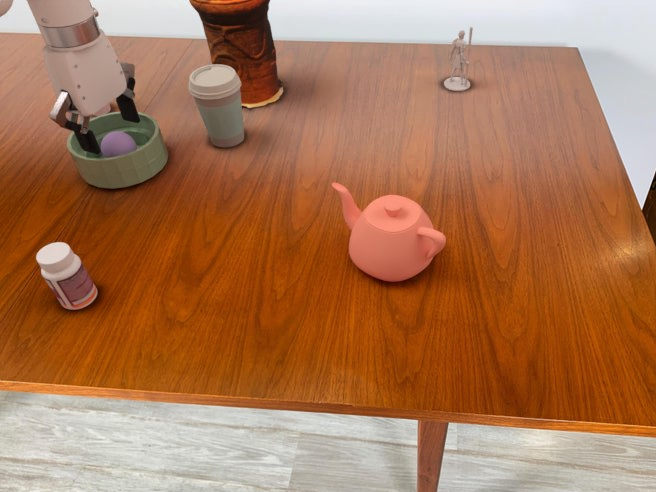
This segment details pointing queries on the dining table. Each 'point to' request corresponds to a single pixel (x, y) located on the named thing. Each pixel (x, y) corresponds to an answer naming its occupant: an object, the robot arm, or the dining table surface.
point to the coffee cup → (219, 103)
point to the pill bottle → (66, 276)
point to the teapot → (390, 236)
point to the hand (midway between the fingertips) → (112, 135)
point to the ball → (117, 144)
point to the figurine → (459, 64)
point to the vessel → (243, 45)
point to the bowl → (122, 167)
